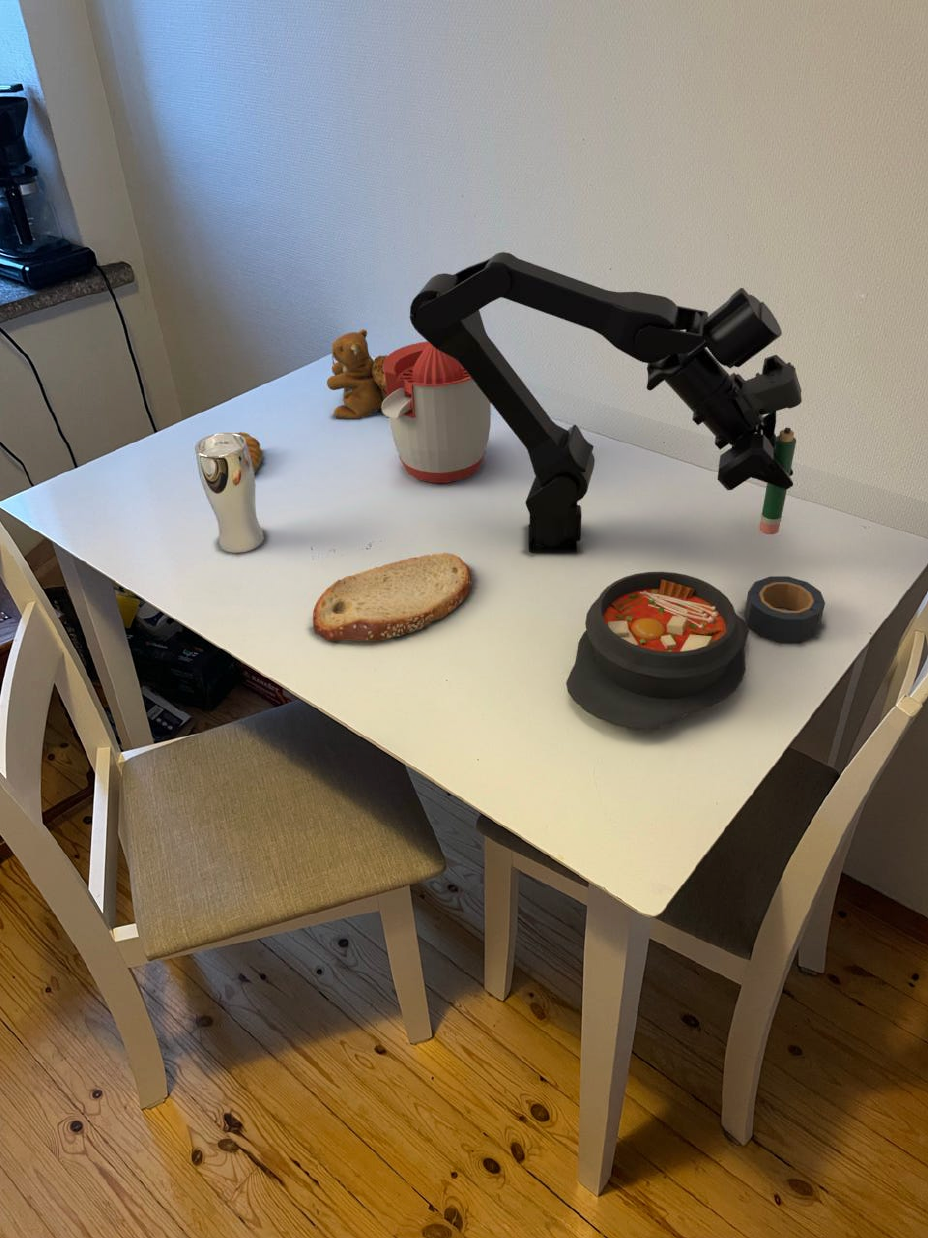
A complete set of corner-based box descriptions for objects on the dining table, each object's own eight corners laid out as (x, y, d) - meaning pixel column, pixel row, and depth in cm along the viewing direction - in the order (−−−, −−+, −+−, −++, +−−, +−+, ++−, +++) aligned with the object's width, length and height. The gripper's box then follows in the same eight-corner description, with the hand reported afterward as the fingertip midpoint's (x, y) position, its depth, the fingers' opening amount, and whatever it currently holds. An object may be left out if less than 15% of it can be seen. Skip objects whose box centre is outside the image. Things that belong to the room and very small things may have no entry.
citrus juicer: (363, 470, 147) (348, 345, 134) (447, 432, 156) (440, 311, 143) (429, 508, 137) (419, 377, 125) (515, 464, 146) (514, 338, 134)
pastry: (269, 475, 147) (264, 453, 144) (225, 484, 145) (219, 462, 143) (260, 448, 154) (255, 426, 151) (218, 456, 152) (213, 434, 150)
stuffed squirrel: (344, 392, 169) (335, 319, 161) (420, 398, 166) (415, 324, 158) (323, 417, 162) (313, 342, 154) (402, 424, 158) (396, 348, 150)
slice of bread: (478, 567, 125) (477, 543, 123) (449, 655, 112) (447, 630, 109) (347, 556, 129) (344, 532, 126) (303, 640, 115) (299, 615, 113)
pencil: (760, 534, 119) (779, 433, 111) (757, 524, 121) (774, 423, 113) (781, 534, 119) (801, 433, 111) (777, 524, 121) (796, 423, 113)
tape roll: (752, 642, 111) (756, 619, 109) (739, 599, 118) (743, 576, 116) (825, 643, 111) (831, 619, 108) (809, 599, 117) (814, 576, 115)
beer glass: (276, 533, 134) (258, 436, 125) (248, 559, 129) (226, 461, 120) (236, 523, 136) (214, 428, 127) (206, 548, 131) (182, 451, 122)
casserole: (645, 587, 120) (651, 531, 115) (784, 644, 111) (797, 585, 105) (526, 694, 106) (526, 636, 101) (674, 771, 96) (682, 710, 91)
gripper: (764, 380, 99) (854, 483, 104) (767, 315, 113) (845, 407, 118) (680, 442, 106) (767, 536, 110) (692, 372, 120) (769, 458, 124)
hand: (790, 481), depth 116 cm, fingers closed on pencil, 2 cm apart
